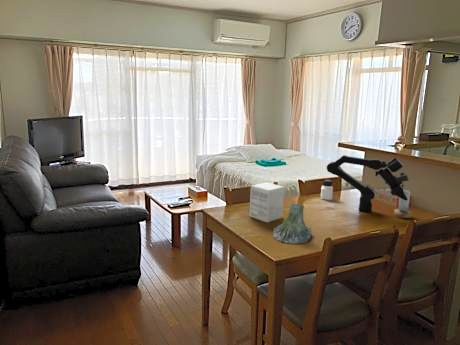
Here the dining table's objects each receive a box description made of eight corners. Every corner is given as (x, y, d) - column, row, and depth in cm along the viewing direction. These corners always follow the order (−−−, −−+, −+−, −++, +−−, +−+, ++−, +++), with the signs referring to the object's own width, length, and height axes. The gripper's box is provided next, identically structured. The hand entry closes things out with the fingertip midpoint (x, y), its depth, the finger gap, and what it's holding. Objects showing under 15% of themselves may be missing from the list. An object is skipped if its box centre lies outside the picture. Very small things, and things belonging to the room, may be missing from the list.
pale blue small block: (397, 209, 209) (399, 191, 207) (398, 207, 213) (401, 189, 211) (407, 211, 206) (409, 192, 204) (408, 209, 210) (411, 190, 208)
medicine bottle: (332, 200, 239) (333, 182, 237) (321, 199, 241) (322, 181, 238) (331, 197, 246) (333, 179, 244) (320, 196, 247) (322, 179, 245)
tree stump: (263, 238, 173) (268, 200, 173) (283, 236, 189) (288, 201, 189) (299, 246, 162) (304, 206, 162) (317, 244, 178) (322, 207, 178)
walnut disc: (395, 217, 207) (395, 212, 207) (392, 213, 216) (393, 208, 215) (412, 219, 205) (413, 214, 205) (409, 214, 214) (409, 209, 213)
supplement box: (264, 211, 211) (266, 181, 207) (282, 217, 202) (284, 186, 198) (248, 216, 202) (250, 185, 198) (267, 222, 192) (269, 190, 189)
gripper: (400, 171, 198) (420, 194, 196) (401, 166, 215) (419, 187, 213) (382, 183, 203) (402, 206, 201) (384, 177, 220) (402, 198, 217)
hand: (407, 198), depth 208 cm, fingers closed on pale blue small block, 5 cm apart
